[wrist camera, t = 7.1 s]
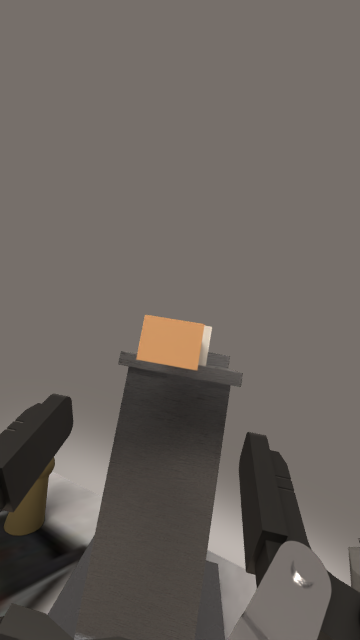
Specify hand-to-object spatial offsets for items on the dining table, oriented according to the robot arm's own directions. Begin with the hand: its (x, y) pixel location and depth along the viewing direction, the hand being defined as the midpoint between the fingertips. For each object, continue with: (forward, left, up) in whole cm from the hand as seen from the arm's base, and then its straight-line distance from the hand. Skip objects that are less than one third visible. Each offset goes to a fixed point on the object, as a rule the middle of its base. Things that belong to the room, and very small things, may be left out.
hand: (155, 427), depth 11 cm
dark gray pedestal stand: (-1, +24, -29) cm, 38 cm away
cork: (-24, +33, -30) cm, 50 cm away
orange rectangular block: (-1, +17, +3) cm, 17 cm away
